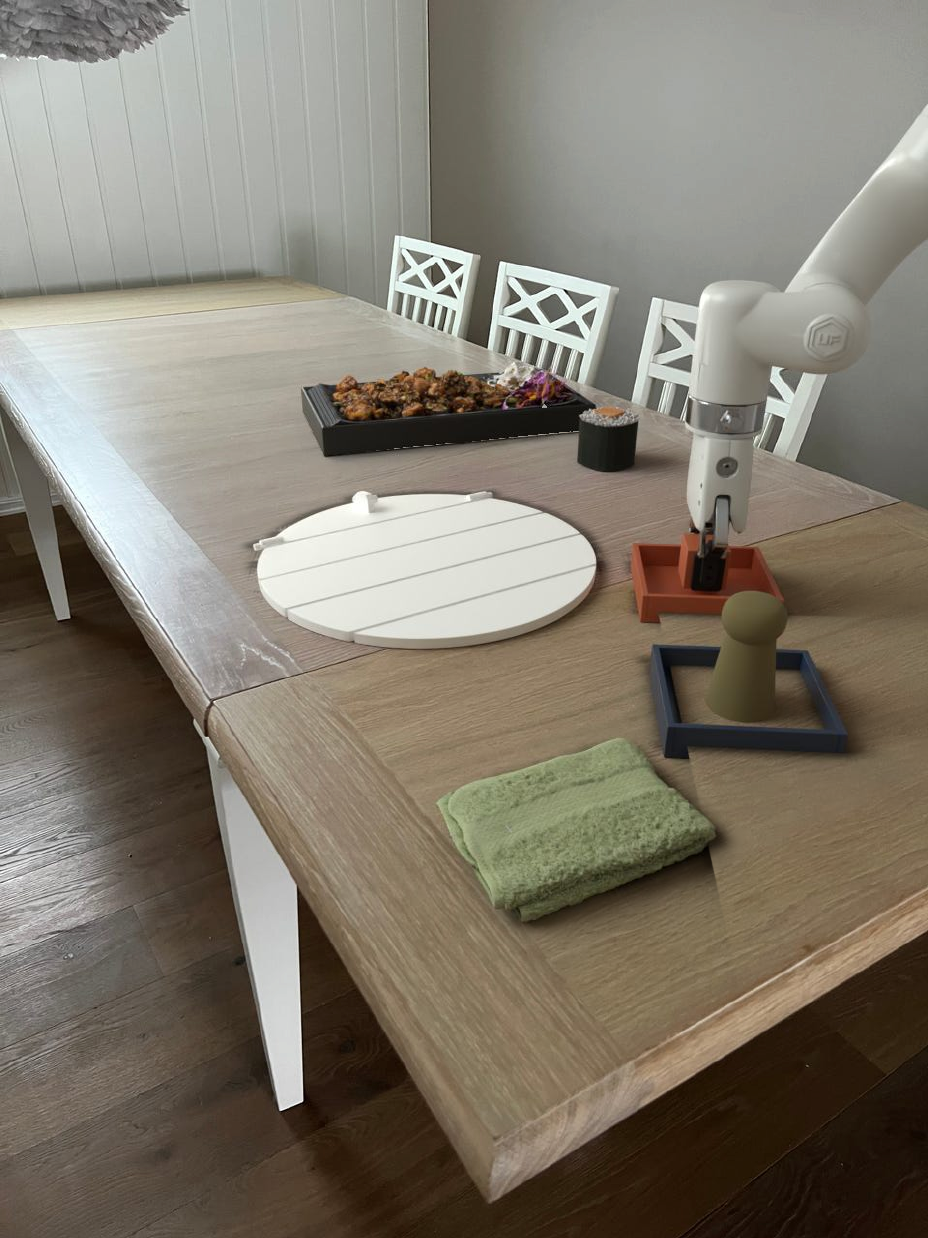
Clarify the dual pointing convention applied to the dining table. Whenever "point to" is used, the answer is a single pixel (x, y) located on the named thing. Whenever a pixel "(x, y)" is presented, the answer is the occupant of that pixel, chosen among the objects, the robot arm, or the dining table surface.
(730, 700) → the olive pawn
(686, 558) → the terracotta block
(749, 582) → the terracotta tray
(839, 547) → the dining table surface
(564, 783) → the washcloth
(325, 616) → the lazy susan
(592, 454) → the sushi
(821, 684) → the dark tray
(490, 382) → the food platter
